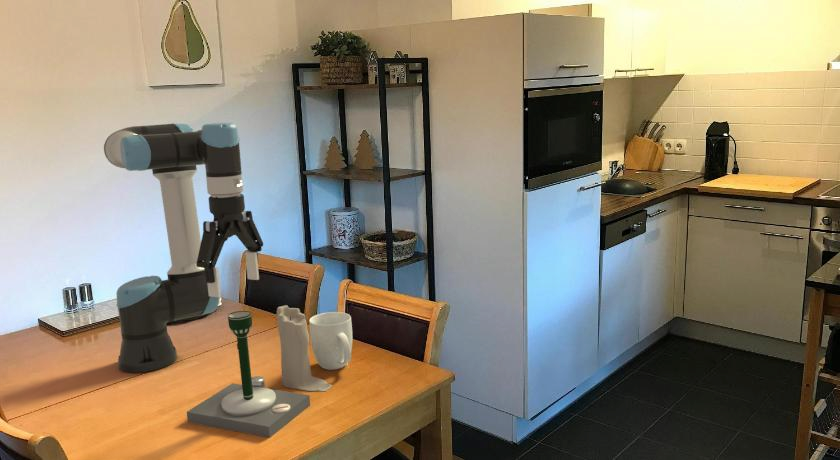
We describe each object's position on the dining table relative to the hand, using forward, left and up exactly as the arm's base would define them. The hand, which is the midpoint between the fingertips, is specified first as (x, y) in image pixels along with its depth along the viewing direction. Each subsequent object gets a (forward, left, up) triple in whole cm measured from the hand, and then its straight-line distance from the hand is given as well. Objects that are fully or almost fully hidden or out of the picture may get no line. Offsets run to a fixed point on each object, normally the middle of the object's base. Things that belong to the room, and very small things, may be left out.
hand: (234, 287), depth 154 cm
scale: (+3, -3, -29) cm, 29 cm away
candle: (+7, +15, -29) cm, 33 cm away
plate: (-69, +53, -29) cm, 92 cm away
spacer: (-4, +9, -29) cm, 30 cm away
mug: (+8, +27, -29) cm, 40 cm away
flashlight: (+3, -3, -25) cm, 26 cm away
